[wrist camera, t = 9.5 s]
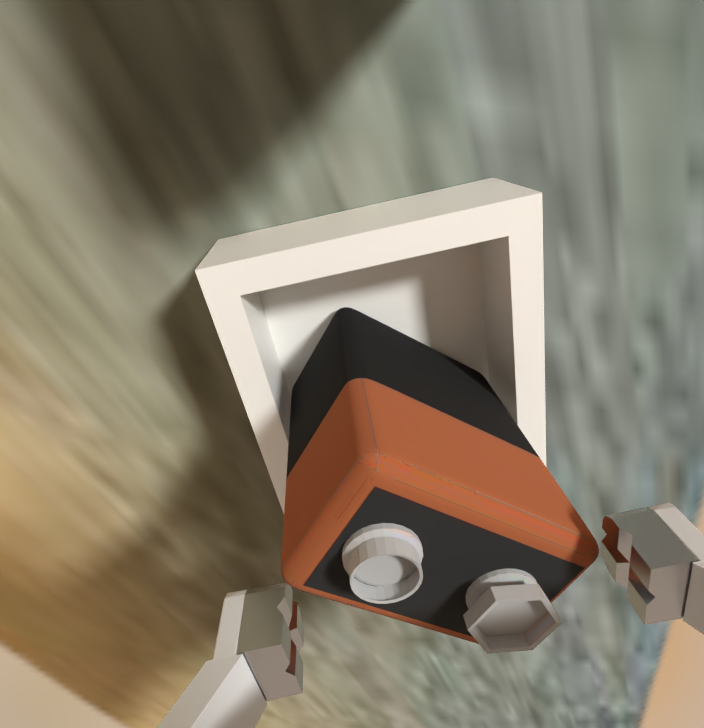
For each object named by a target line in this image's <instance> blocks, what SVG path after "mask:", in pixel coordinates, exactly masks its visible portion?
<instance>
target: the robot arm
mask: <svg viewBox="0 0 704 728" xmlns="http://www.w3.org/2000/svg"><path fill="white" fill-rule="evenodd" d="M602 528H603V529H604V531H605V532H606V534H607V535H606V537H605V538H604V539H603V540H602V554H603V558H604V562H605V564H606V566H607V568H608V570H609V572H610V574H611V575H612V577H613V579H614V580H615V582H617V583H619V584H620V585H622V586H624V587H626V588H627V589H628V590H627V599H628V601H629V602H630V604H631V605H632V607H633V608H634V610H635V611H636V613H637V614H638V616H639V617H640V619H641V620H642V622H643V623H644V624H645V625H646V624H652V623H658V622H664V621H670V620H676V619H681V618H683V621H685V622H686V623H688V624H689V625H691V626H692V627H694V628H695V629H696V630H698V631H699V632H701V633H703V634H704V535H702V533H701V532H700V531H699V530H698V529H697V528H696V527H695V526H694V525H693V524H692V523H691V522H690V521H689V520H688V519H687V518H686V517H685V516H684V515H683V514H682V513H681V512H680V511H679V510H678V509H677V508H676V507H675V506H674V505H672V504H670V503H665V504H660V505H656V506H651V507H647V508H645V507H644V508H640V509H635V510H630V511H626V512H621V513H617V514H612V515H608V516H605V517H604V519H603V525H602ZM302 646H303V623H302V617H301V612H300V609H299V606H298V603H296V602H294V601H293V590H292V588H291V586H290V585H288V584H287V583H286V582H285V583H279V584H273V585H268V586H262V587H256V588H251V589H246V590H241V591H235V592H230V593H227V595H226V597H225V599H224V602H223V608H222V613H221V618H220V623H219V628H218V634H217V639H216V644H215V649H214V655H213V659H212V660H208V661H206V662H205V664H204V665H203V666H202V668H201V669H200V670H199V672H198V673H197V674H196V676H195V677H194V678H193V680H192V681H191V682H190V684H189V685H188V686H187V688H186V689H185V690H184V692H183V693H182V694H181V696H180V697H179V698H178V700H177V701H176V702H175V704H174V705H173V706H172V708H171V709H170V710H169V712H168V713H167V714H166V716H165V717H164V718H163V720H162V721H161V722H160V724H159V725H158V726H157V728H255V727H256V725H257V723H258V721H259V719H260V717H261V715H262V713H263V711H264V709H265V707H266V705H267V703H266V701H270V700H275V699H279V698H283V697H288V696H292V695H296V694H301V693H302V689H303V662H302V660H301V657H300V654H299V651H300V649H301V648H302Z"/></svg>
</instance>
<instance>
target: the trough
mask: <svg viewBox="0 0 704 728" xmlns="http://www.w3.org/2000/svg"><path fill="white" fill-rule="evenodd" d="M195 273H196V275H197V278H198V281H199V283H200V286H201V289H202V292H203V294H204V297H205V300H206V303H207V305H208V308H209V311H210V314H211V316H212V319H213V322H214V325H215V327H216V330H217V333H218V335H219V338H220V341H221V344H222V346H223V349H224V352H225V355H226V357H227V360H228V363H229V366H230V368H231V371H232V374H233V376H234V379H235V382H236V385H237V387H238V390H239V393H240V396H241V398H242V401H243V404H244V407H245V409H246V412H247V415H248V417H249V420H250V423H251V426H252V428H253V431H254V434H255V437H256V439H257V442H258V445H259V448H260V450H261V453H262V456H263V458H264V461H265V464H266V467H267V469H268V472H269V475H270V478H271V480H272V483H273V486H274V489H275V491H276V494H277V497H278V499H279V502H280V505H281V508H282V510H283V513H284V508H285V492H286V476H287V460H288V444H289V427H290V411H291V396H292V389H293V386H294V384H295V382H296V381H297V379H298V377H299V375H300V374H301V372H302V370H303V368H304V367H305V365H306V363H307V361H308V360H309V358H310V356H311V355H312V353H313V351H314V349H315V348H316V346H317V344H318V342H319V341H320V339H321V337H322V335H323V334H324V332H325V330H326V328H327V327H328V325H329V323H330V321H331V320H332V318H333V316H334V315H335V313H336V312H337V311H338V310H339V309H340V308H343V307H349V308H353V309H355V310H357V311H359V312H361V313H363V314H365V315H367V316H369V317H371V318H373V319H375V320H377V321H379V322H381V323H383V324H385V325H387V326H389V327H391V328H393V329H395V330H397V331H399V332H401V333H403V334H405V335H407V336H409V337H411V338H413V339H415V340H417V341H419V342H421V343H423V344H425V345H427V346H429V347H431V348H433V349H435V350H437V351H439V352H441V353H443V354H445V355H447V356H448V357H450V358H452V359H454V360H456V361H458V362H460V363H462V364H464V365H466V366H468V367H470V368H472V369H474V370H476V371H478V372H479V373H481V374H482V375H483V376H484V377H485V378H486V380H487V381H488V383H489V384H490V386H491V387H492V389H493V390H494V391H495V393H496V394H497V396H498V397H499V399H500V400H501V402H502V403H503V405H504V406H505V408H506V409H507V410H508V412H509V413H510V415H511V416H512V418H513V419H514V421H515V422H516V424H517V425H518V427H519V428H520V430H521V431H522V432H523V434H524V435H525V437H526V438H527V440H528V441H529V443H530V444H531V446H532V447H533V449H534V450H535V452H536V453H537V454H538V456H539V457H540V459H541V460H542V462H543V463H544V465H545V466H546V420H545V352H544V284H543V216H542V192H538V191H535V190H532V189H529V188H525V187H522V186H519V185H516V184H512V183H509V182H506V181H503V180H499V179H496V178H489V179H484V180H480V181H475V182H471V183H466V184H462V185H457V186H453V187H449V188H444V189H440V190H435V191H431V192H426V193H422V194H417V195H413V196H409V197H404V198H400V199H395V200H391V201H386V202H382V203H377V204H373V205H369V206H364V207H360V208H355V209H351V210H346V211H342V212H337V213H333V214H328V215H324V216H320V217H315V218H311V219H306V220H302V221H297V222H293V223H288V224H284V225H280V226H275V227H271V228H266V229H262V230H257V231H253V232H248V233H244V234H240V235H235V236H231V237H226V238H222V239H218V240H217V242H216V243H215V244H214V246H213V247H212V248H211V250H210V251H209V252H208V254H207V255H206V256H205V257H204V259H203V260H202V261H201V263H200V264H199V265H198V267H197V268H196V269H195Z"/></svg>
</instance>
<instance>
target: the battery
mask: <svg viewBox="0 0 704 728" xmlns="http://www.w3.org/2000/svg"><path fill="white" fill-rule="evenodd" d="M598 553H599V548H598V545H597V542H596V540H595V538H594V537H593V535H592V534H591V532H590V531H589V529H588V528H587V526H586V525H585V523H584V522H583V520H582V519H581V518H580V516H579V515H578V513H577V512H576V510H575V509H574V507H573V506H572V504H571V503H570V501H569V500H568V498H567V497H566V496H565V494H564V493H563V491H562V490H561V488H560V487H559V485H558V484H557V482H556V481H555V479H554V478H553V476H552V475H551V474H550V472H549V471H548V469H547V468H546V466H545V465H544V463H543V462H542V460H541V459H540V457H539V456H538V454H537V453H536V452H535V450H534V449H533V447H532V446H531V444H530V443H529V441H528V440H527V438H526V437H525V435H524V434H523V432H522V431H521V430H520V428H519V427H518V425H517V424H516V422H515V421H514V419H513V418H512V416H511V415H510V413H509V412H508V410H507V409H506V408H505V406H504V405H503V403H502V402H501V400H500V399H499V397H498V396H497V394H496V393H495V391H494V390H493V389H492V387H491V386H490V384H489V383H488V381H487V380H486V378H485V377H484V376H483V375H482V374H481V373H479V372H478V371H476V370H474V369H472V368H470V367H468V366H466V365H464V364H462V363H460V362H458V361H456V360H454V359H452V358H450V357H448V356H447V355H445V354H443V353H441V352H439V351H437V350H435V349H433V348H431V347H429V346H427V345H425V344H423V343H421V342H419V341H417V340H415V339H413V338H411V337H409V336H407V335H405V334H403V333H401V332H399V331H397V330H395V329H393V328H391V327H389V326H387V325H385V324H383V323H381V322H379V321H377V320H375V319H373V318H371V317H369V316H367V315H365V314H363V313H361V312H359V311H357V310H355V309H353V308H349V307H343V308H340V309H339V310H338V311H337V312H336V313H335V315H334V316H333V318H332V320H331V321H330V323H329V325H328V327H327V328H326V330H325V332H324V334H323V335H322V337H321V339H320V341H319V342H318V344H317V346H316V348H315V349H314V351H313V353H312V355H311V356H310V358H309V360H308V361H307V363H306V365H305V367H304V368H303V370H302V372H301V374H300V375H299V377H298V379H297V381H296V382H295V384H294V386H293V389H292V396H291V411H290V427H289V444H288V460H287V476H286V492H285V508H284V524H283V540H282V557H281V572H282V576H283V578H284V580H285V582H286V583H287V584H288V585H290V586H292V587H294V588H296V589H299V590H301V591H304V592H308V593H311V594H314V595H317V596H321V597H324V598H327V599H331V600H334V601H337V602H341V603H344V604H347V605H351V606H354V607H357V608H361V609H364V610H367V611H371V612H374V613H377V614H381V615H384V616H387V617H391V618H394V619H397V620H401V621H404V622H407V623H411V624H414V625H417V626H421V627H424V628H427V629H431V630H434V631H437V632H441V633H444V634H447V635H451V636H454V637H457V638H461V639H464V640H467V641H471V642H474V643H477V644H480V645H481V647H482V648H483V649H484V650H485V651H486V653H499V652H512V651H525V650H533V649H534V648H535V647H536V646H537V645H539V644H540V643H541V642H542V641H543V640H544V639H545V638H546V637H547V636H548V635H549V634H551V633H552V632H553V631H554V630H555V629H556V628H557V627H558V626H559V625H560V624H561V623H562V622H561V620H560V618H559V616H558V614H557V612H556V610H555V609H554V607H553V605H552V604H551V602H552V601H554V600H555V599H556V598H557V597H558V596H559V595H560V594H561V593H562V592H563V591H564V590H565V589H566V588H567V587H568V586H569V585H570V584H571V583H572V582H573V581H574V580H576V579H577V578H578V577H579V576H580V575H581V574H582V573H583V572H584V571H585V570H586V569H587V568H588V567H589V566H590V565H591V564H592V563H593V562H594V561H595V560H596V558H597V557H598Z"/></svg>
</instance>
